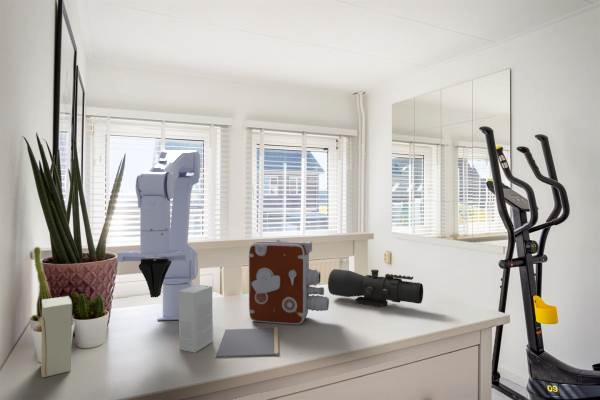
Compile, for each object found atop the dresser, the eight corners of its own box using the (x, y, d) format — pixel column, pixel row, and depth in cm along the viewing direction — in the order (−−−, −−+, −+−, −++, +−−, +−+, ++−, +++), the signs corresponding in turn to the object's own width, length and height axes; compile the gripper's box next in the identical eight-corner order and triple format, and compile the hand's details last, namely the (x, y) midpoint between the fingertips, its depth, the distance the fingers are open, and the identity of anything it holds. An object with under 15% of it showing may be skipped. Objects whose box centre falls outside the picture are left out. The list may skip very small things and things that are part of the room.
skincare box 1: (40, 365, 65) (40, 299, 65) (69, 358, 68) (69, 295, 68) (41, 379, 60) (41, 307, 60) (72, 371, 63) (72, 302, 63)
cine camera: (325, 329, 83) (325, 243, 83) (246, 323, 87) (246, 241, 87) (329, 316, 92) (329, 239, 92) (258, 312, 96) (257, 237, 96)
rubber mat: (225, 330, 82) (225, 328, 82) (277, 329, 83) (277, 327, 83) (215, 357, 68) (215, 355, 68) (278, 355, 69) (278, 352, 69)
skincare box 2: (196, 339, 77) (196, 284, 77) (213, 341, 76) (213, 285, 76) (177, 350, 72) (177, 290, 72) (195, 353, 70) (195, 292, 70)
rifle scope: (416, 318, 91) (416, 278, 91) (325, 302, 105) (325, 268, 104) (425, 307, 100) (425, 271, 100) (340, 294, 113) (340, 263, 113)
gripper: (110, 232, 69) (110, 302, 69) (186, 231, 70) (186, 300, 70) (125, 229, 76) (125, 292, 76) (194, 228, 77) (194, 291, 77)
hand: (155, 296), depth 73 cm, fingers closed
